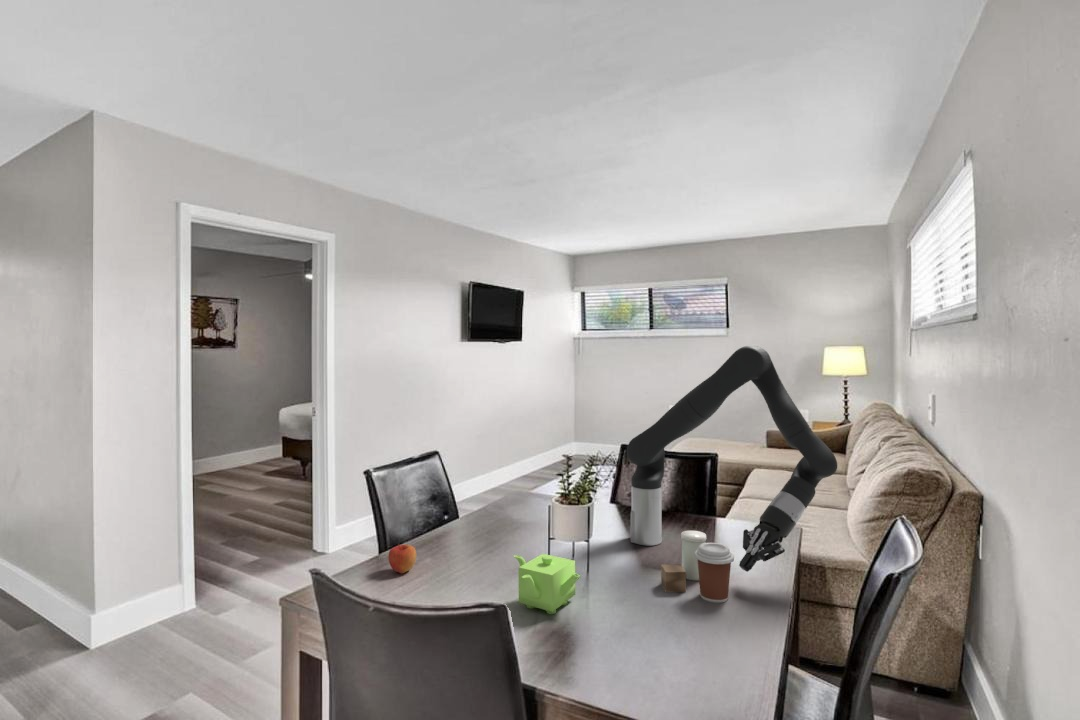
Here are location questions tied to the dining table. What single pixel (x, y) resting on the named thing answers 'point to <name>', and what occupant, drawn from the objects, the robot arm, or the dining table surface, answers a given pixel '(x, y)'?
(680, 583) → the walnut block
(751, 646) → the dining table surface
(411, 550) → the apple
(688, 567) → the canister
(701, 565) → the coffee cup
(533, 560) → the kettle
